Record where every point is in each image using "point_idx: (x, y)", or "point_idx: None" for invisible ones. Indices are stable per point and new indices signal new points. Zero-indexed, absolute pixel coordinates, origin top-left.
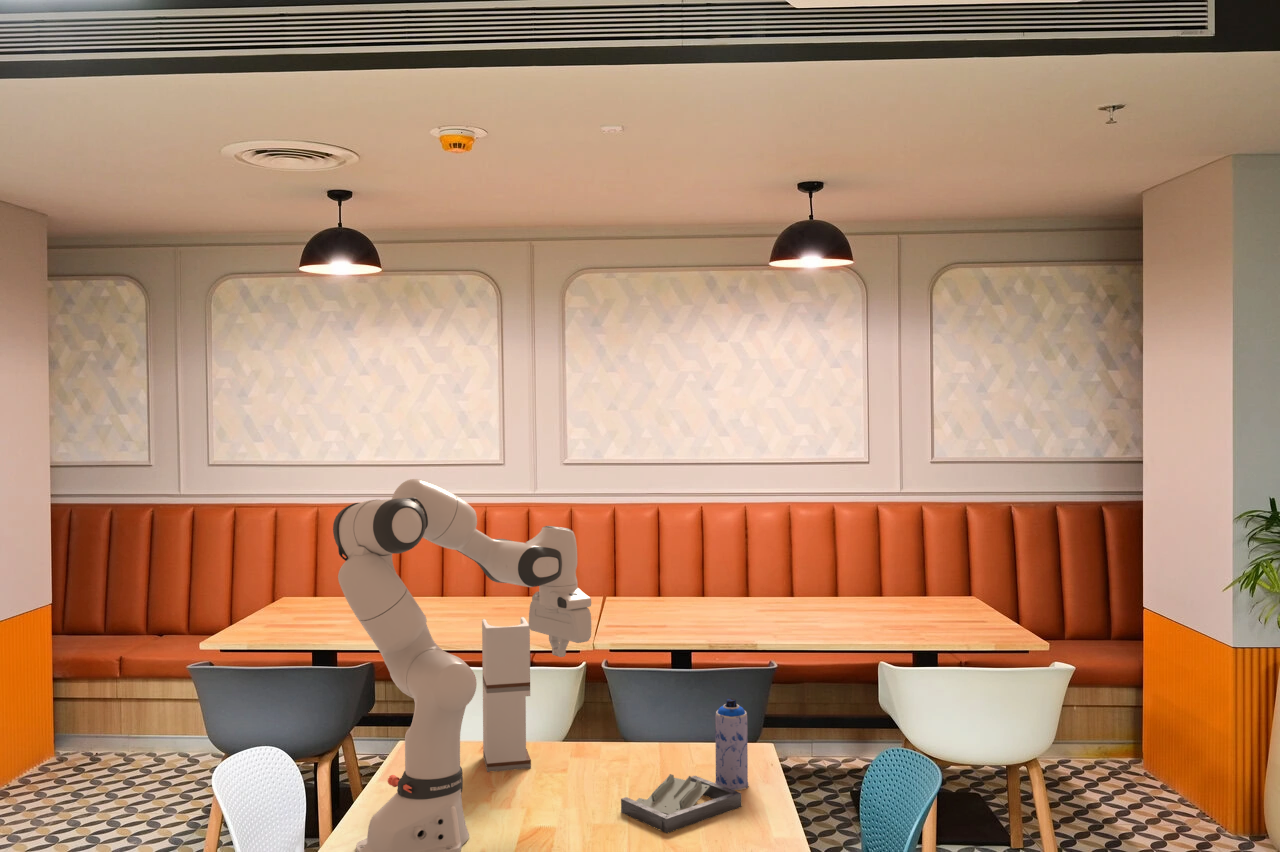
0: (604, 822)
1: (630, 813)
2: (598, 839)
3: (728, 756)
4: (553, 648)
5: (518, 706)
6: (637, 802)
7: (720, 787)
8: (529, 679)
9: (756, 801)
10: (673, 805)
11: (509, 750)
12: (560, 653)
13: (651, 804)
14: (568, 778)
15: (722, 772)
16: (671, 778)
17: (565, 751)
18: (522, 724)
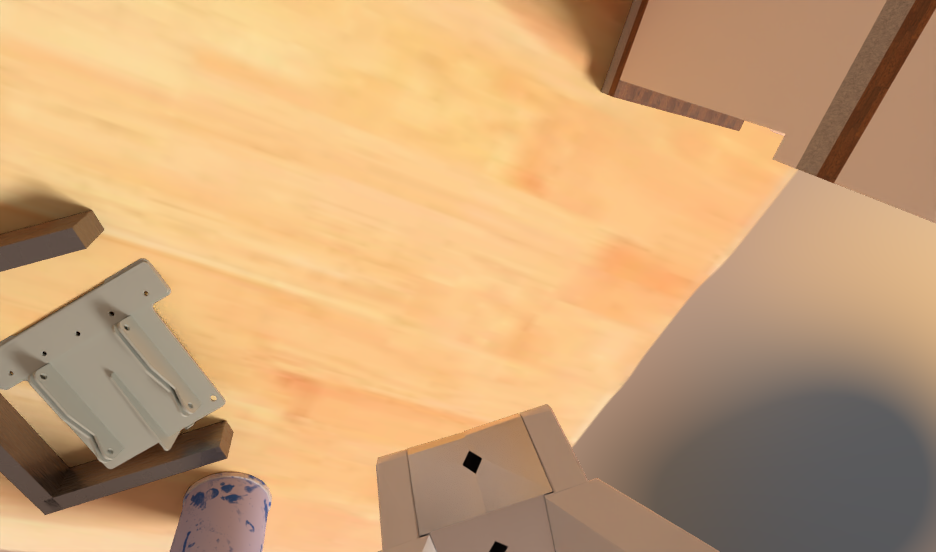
0: (3, 128)
1: (38, 227)
2: None
3: None
4: (545, 485)
5: (767, 84)
6: (18, 263)
7: (108, 486)
8: (851, 184)
9: (95, 517)
10: (75, 354)
11: (664, 19)
12: (380, 503)
13: (112, 306)
14: (456, 168)
15: (194, 516)
16: (179, 405)
17: (661, 237)
18: (701, 89)
